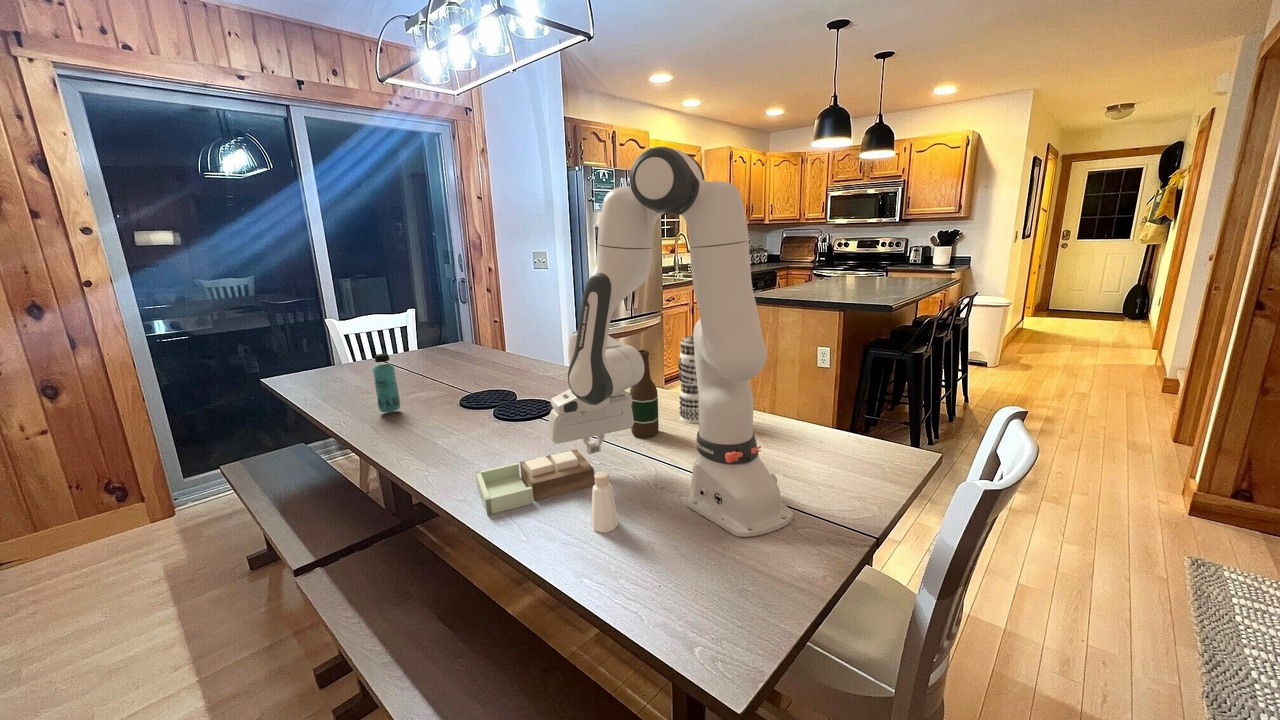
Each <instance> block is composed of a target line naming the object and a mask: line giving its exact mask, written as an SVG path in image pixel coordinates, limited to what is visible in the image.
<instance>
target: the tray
mask: <svg viewBox="0 0 1280 720" xmlns="http://www.w3.org/2000/svg"><path fill="white" fill-rule="evenodd" d="M519 465H520V464H519V463H518V462H514V463H509V464H505V465H500V466H497V467H495V466H494V467H492V468H487V469H482V470H478V471H475V479H476V485H477V490H478V492H479V494H480V498H481V500H482V504H483V506H484V510H485V513H486V512H487V513H486V515H487V516H489V515H493V514H498V513H501V512H505V511H508V510H513V509H517V508H521V507H525V506H528V505H532V504H534V499H533V494H532V488H531V487H526V485H525V483H524V481H523V479H522V477H521V473H520V467H519Z"/></svg>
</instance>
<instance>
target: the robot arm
mask: <svg viewBox="0 0 1280 720" xmlns="http://www.w3.org/2000/svg"><path fill="white" fill-rule="evenodd" d="M704 174H705V173H704V171H703V168H702V167H701V165H700V164H699V162H698V161H697V160H696V159H694V158H693V157H692V156H689V155H688V154H687V153H686V152H684V151H682V150H679V149H676V148H672V147H668V146H667V147H666V146H656V147H652V148H649V149H647V150H645V151H644V152H642V153H641V154H640V155H639V156H638V157H637V158H636V159H635V160H634V162H633V164H632V166H631V169H630V173H629V186H627V185H626V186H618V187H615V188H613V189H611V190H609V191H608V192H607V193H606V195H605V196H604V199H603V202H602V206H601V211H600V216H599V220H598V222H599V223H598V227H597V245H596V255H595V256H596V257H595V261H594V266H593V269H592V272H591V274H590V277H589V278H588V280H587V282H586V283H585V286H584V290H583V295H582V298H581V299H582V301H581V305H580V313H579V320H578V326H577V330H574V331H573V332H572V333H570V336H569V339H568V347H567V348H568V349H567V350H568V351H567V352H568V370H567V382H568V386H569V389H567V390H565V391H563V392H561V393H560V394H558V395H555V396H553V397H552V398H551V399H550V405H551V407H552V409H551V410H550V413H549V415H548V426H547V428H548V437H549V439H550V440H551V442H553V443H554V444H555V445H560V444H563V443H569V442H572V441H578V440H582V442H583V444H584V445H585V446H586V452H587V454H588V455H591V454H596V453H600V452H601V450H602V449H601V446H602V444H603V441H604V440H605V439H606V438H605V435H606V434H611V433H615V432H621V431H624V430H629V429H631V428H632V426H633V424H634V419H633V412H632V408H631V405H632V396H631V394H630V392H628V391H626V390H627V389H629V388H630V389H631V387H632V386H634V385H635V384H637V383H639V382H640V381H641V380H642V378H643V376H644V372H645V363H644V359H643V357H642V355H641V353H640V352H639V349H637V348H636V346H633V345H630V344H626V343H623V342H620V341H619V340H616V339H615V338H613V337H612V336H610V335H609V332H610V324H611V319H612V315H613V313H614V312H615V310H616V308H617V307H618V306H619V304H620V303H621V302H623V301H624V299H625V298H627V297H628V296H629V295H630V294H632V293H633V292H635V291H636V290H637V289H639V288H640V287H641V286H642V285H643V284H644V283H645V281H646V280H647V278H648V276H649V273H650V270H651V266H652V260H653V244H654V231H655V225H656V222H657V221H658V219H659V218H660V217H661V216H667V215H676V216H682V218H683V220H684V221H685V224H686V228H687V234H688V245H689V256H690V267H691V276H692V287H693V292H694V295H695V299H696V305H697V309H698V315H699V318H698V320H697V321H696V322H695V325H694V327H693V333H692V336H693V339H694V355H695V367H696V377H697V386H698V395H699V423H698V431H697V433H696V438H695V439H696V441H695V443H696V451H697V456H696V459H695V461H694V463H693V466H692V472H691V473H692V474H691V484H690V495H689V496H688V497H687V499H686V501H685V505H686V507H687V508H690V509H691V510H693V511H695V512H696V513H698V514H699V515H701V516H702V517H704V518H706V519H707V520H710V522H712V523H713V524H715V525H717V526H719V527H720V528H722V529H724V530H726V531H727V532H729V533H730V534H732V535H734V536H735V537H742V538H743V537H748V538H749V537H756V536H762V535H765V534H768V533H772V532H775V531H777V530H779V529H780V530H781V528H784V527H785V526H787V525H788V524H790V523H791V522H792V520H793V519H794V512H793V511H792V510H791V509H790V508H789V507H788V506H786V504H785V503H784V502H782V500H781V499H782V498H781V490H780V487H779V485H778V484H777V483H778V479H777V476H776V474H774V473H770V472H769V470H768V468H767V467H766V465H765V464H764V463H763V461H762V459H761V458H760V456H759V452H760V453H761V452H762V450H761V448H762V446H761V445H760V446H758V444H757V442H758V441H757V439H756V436H755V434H754V406H755V405H754V401H755V400H754V395H753V391H752V386H751V381H750V380H751V379H753V378H754V377H756V376H757V375H758V374H760V372H761V371H762V370H763V369H764V367H765V365H766V362H767V358H768V350H767V344H766V342H765V340H764V337H763V334H762V328H761V327H762V326H761V321H760V316H759V312H758V306H757V302H756V298H755V293H754V288H753V283H752V282H753V281H752V271H751V269H752V268H751V257H750V243H749V242H750V241H749V240H750V239H749V238H750V237H749V229H748V221H747V216H746V210H745V207H744V203H743V202H744V201H743V199H742V194H741V193H740V190H739V189H738V187H737V186H735V185H734V184H732V183H730V182H727V181H721V180H714V181H707V180H706V179H705V175H704ZM592 437H597V438H596V441H595V443H589V442H590V441H591V440H590V439H591V438H592Z"/></svg>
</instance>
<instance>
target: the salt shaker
mask: <svg viewBox="0 0 1280 720" xmlns="http://www.w3.org/2000/svg"><path fill="white" fill-rule="evenodd" d="M594 478H595V485H593V486H592V490H591V491H592V492H591V512H590V513H591V514H590V515H591V516H590V525H591V528H592V530H593V532H597V533H602V534H604V533H608V532H612V531H615V529H616V528H617V527H618V526H619V519H618V514H617V507H616V503H615V502H616V501H615V496H614V490H613V486H612V484H611V483H610V481H609V480H610V474H609V472H607V471H598V472H596V473H594Z"/></svg>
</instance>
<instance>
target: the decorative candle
mask: <svg viewBox="0 0 1280 720" xmlns="http://www.w3.org/2000/svg"><path fill="white" fill-rule="evenodd" d="M679 344H680V352H679V358H678V360H677V363H678V365H677V368H678V375H679V377H678V381H679V383H680V387H681V388H680V392H679V393H680V395H679V397H678V398H679V400H680V401H679V407H678V409H679V410H680V411H679V415H680V416H679V419H680V421H681V422H683V423H687V424H699V395H698V386H697V377H696V367H695V355H694V339H693V335H688V336H687V335H686V336H684V337H683V338H682V340H680V342H679Z"/></svg>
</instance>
